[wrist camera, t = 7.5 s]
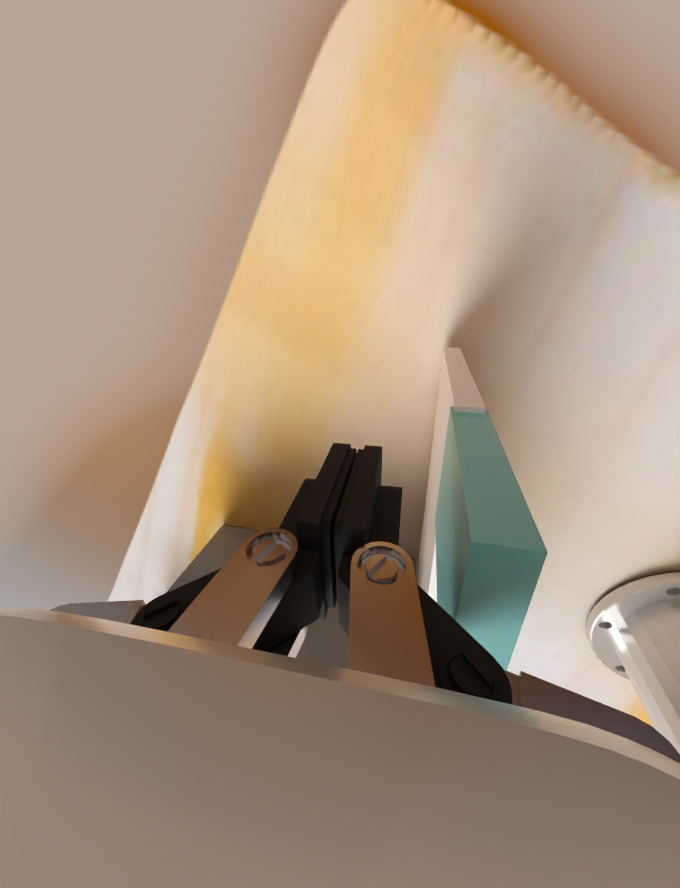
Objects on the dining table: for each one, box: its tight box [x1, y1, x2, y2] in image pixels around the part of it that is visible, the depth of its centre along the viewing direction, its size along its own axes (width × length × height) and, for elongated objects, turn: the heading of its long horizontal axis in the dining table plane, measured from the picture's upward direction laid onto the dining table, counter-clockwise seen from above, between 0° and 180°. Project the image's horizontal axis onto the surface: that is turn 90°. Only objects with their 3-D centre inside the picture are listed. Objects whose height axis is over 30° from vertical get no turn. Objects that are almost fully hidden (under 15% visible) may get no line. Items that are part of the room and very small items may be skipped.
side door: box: [416, 347, 547, 670], centre depth 17 cm, size 19×1×18 cm, turn 1°
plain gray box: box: [166, 525, 416, 669], centre depth 29 cm, size 20×12×13 cm, turn 89°
